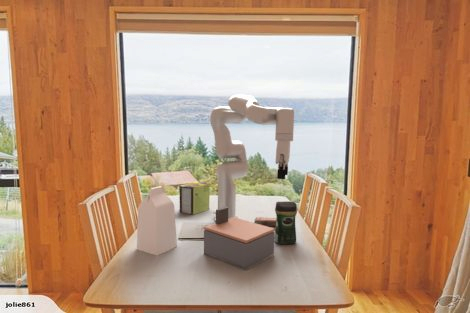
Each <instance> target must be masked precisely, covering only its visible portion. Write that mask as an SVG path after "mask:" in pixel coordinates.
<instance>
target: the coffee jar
mask: <svg viewBox="0 0 470 313" xmlns="http://www.w3.org/2000/svg"><path fill="white" fill-rule="evenodd" d="M274 212H275V214H276V215H275V216H276V217H275V218H276V228H275V231H274V232H275V235H274V243H276V244H278V245H294V244H296V243H297V230H296V217H297V214H298V206H297V203H296V202H295V201H276V203H275V206H274Z"/></svg>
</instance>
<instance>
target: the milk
mask: <svg viewBox="0 0 470 313" xmlns="http://www.w3.org/2000/svg"><path fill="white" fill-rule="evenodd" d="M137 208H138V209H137V228H136V229H137V232H136V233H137V234H136V250H138V251H141V252H144V253H148V254H150V255H154V256H160V255H161V254H163V253H165V252H168V251H169V250H172V249H174V248H176V247H178V244H177V241H178V240H177V228H176V211H175V210H176V208H175V203H174V202H173V201H172V199H171V198H170V197H169V196H168V195H167V194H166V193H165V190H164V187H163V185H162V186H160V185H159V186H156V187H151V188H149V190H148V194H147V196H146V197H144V199H143V200H142V201H141V202H140V203H139V204H138V207H137Z"/></svg>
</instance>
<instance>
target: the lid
mask: <svg viewBox="0 0 470 313" xmlns="http://www.w3.org/2000/svg"><path fill="white" fill-rule="evenodd" d="M215 210H216V214H215V217H216V221H215V222H214V223H212V224H208V225H205V226H203V230H208V231H211V232H214V233H217V234H220V235H223V236H226V237H229V238H232V239H235V240H238V241H241V242H244V243H248V242H250V241H253V240H255V239H257V238H260V237H262V236H264V235H267V234H269V233H271V232H275V229H274V228H271V227H267V226H263V225H260V224H256V223H254V221H253V222H252V221H248V220H245V219H241V218H239V217H238V218H235V217H232V218H229V219H228V207H223V208H220V209H218V208H217V209H215Z"/></svg>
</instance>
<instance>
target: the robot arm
mask: <svg viewBox="0 0 470 313" xmlns="http://www.w3.org/2000/svg"><path fill="white" fill-rule="evenodd" d="M227 104H228V106H217V107H215V108H214V109H212V111H211V113H210V126H211V128H212V131H213V135H214V144H215V151H216V156H217V157H218V158H219V159H221V160H227V161H222V162H219V163H218V164H217V166H216V168H215V172H216V174H215V175H216V177H217V209H220V208H223V207H228V219H229V218H232V217H235V218H238V219H239V217H238V216H236V211H237V209H236V206H237V205H236V204H237V203H236V202H237V199H236V198H237V187H236V185H235V182H234V179H235V180H236V179H242V178H245V177H247V175H248V171H249V169H248V168H249V167H248V158H247V152H246V148H245V145H244V143H243V142H242V141H240V140H232V138H231V137H232V136H231V131H230V129H229V127H228V126H227V125H226V124H240V123H242V122H243V121H244V120H248V121H250V122H252V123H255V124H257V125H263V126H265V125H274V126H275V134H274V136H275V138H274V139H275V140H274V141H276V149H275V150H276V152H275V165H277V172H276V173H277V176H276V179H277V180H285V179H286V176H288V174H289V162H290V156H291V155H290V154H291V142H293V141H294V126H295V110H294V108H290V107H271V106H264V107H263V106H260V103H259V102H258V100H257V99H256V98H255V97H254V96H252V95H246V94H235V95H232V96H231V97H230V98H229V100H228V102H227ZM229 159H231V160H229ZM232 159H233V160H232ZM212 213H213V214H214V215H216V209H214V211H213V212H212ZM214 221H215V222H216V216H214Z"/></svg>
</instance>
